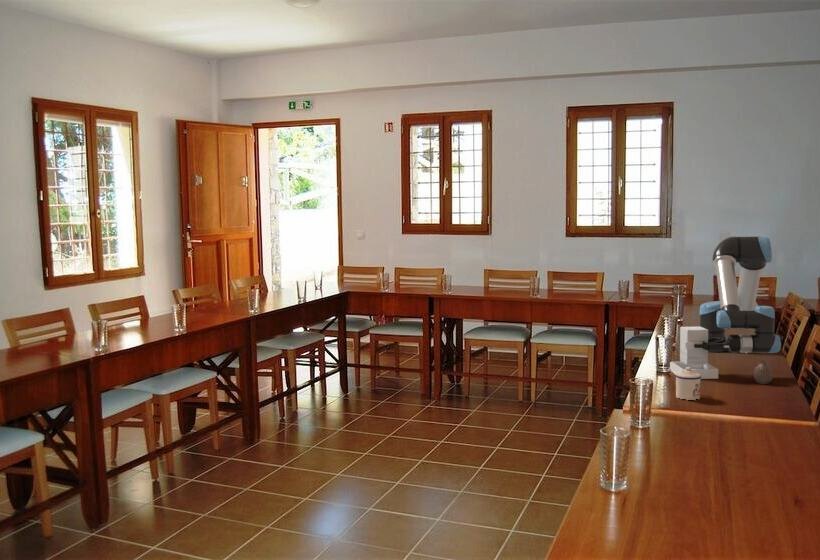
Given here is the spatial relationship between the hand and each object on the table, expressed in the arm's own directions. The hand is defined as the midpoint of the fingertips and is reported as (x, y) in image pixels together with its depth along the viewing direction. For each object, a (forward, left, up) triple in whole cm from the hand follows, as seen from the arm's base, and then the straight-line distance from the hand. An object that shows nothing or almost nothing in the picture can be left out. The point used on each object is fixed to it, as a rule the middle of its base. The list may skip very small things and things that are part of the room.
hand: (683, 342), depth 314 cm
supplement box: (+1, +4, -9) cm, 10 cm away
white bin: (+1, +4, -14) cm, 14 cm away
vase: (+17, +26, -14) cm, 34 cm away
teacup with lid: (+35, -10, -14) cm, 38 cm away
